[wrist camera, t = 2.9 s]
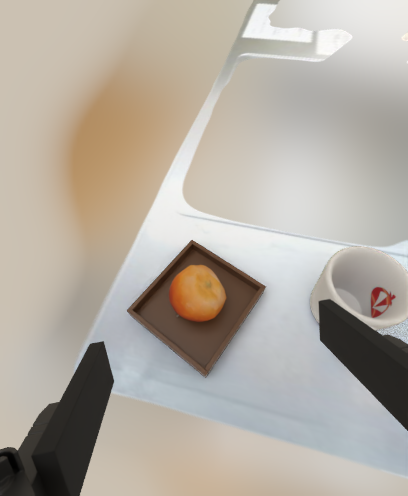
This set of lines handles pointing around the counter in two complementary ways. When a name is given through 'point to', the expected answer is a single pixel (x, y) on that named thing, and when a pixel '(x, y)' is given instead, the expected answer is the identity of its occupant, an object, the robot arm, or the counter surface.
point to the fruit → (197, 294)
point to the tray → (190, 332)
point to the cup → (364, 286)
